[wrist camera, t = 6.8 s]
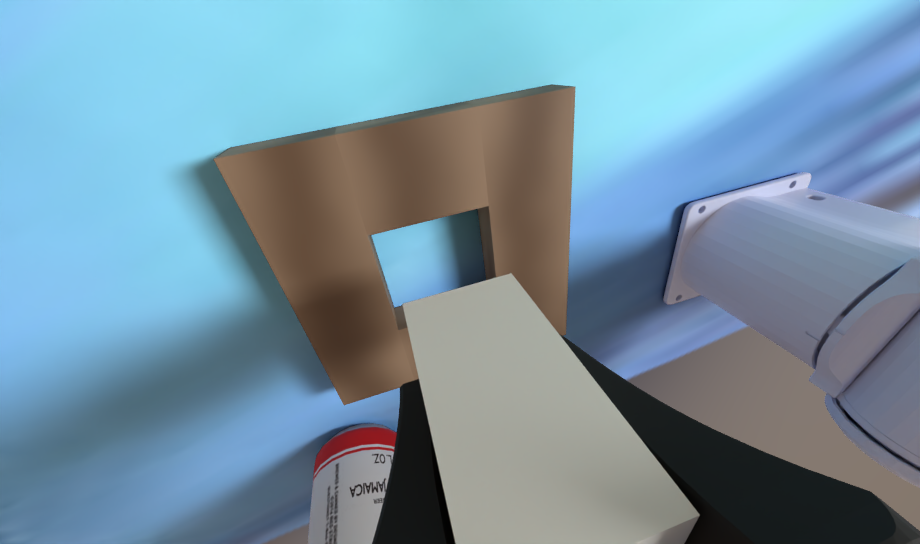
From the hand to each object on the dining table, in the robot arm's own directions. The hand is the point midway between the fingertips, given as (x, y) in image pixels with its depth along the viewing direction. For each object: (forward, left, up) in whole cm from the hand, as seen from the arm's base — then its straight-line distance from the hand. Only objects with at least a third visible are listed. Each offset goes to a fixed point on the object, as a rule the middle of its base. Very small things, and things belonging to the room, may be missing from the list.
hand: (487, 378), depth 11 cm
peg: (0, 0, -2) cm, 2 cm away
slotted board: (0, 0, -9) cm, 9 cm away
